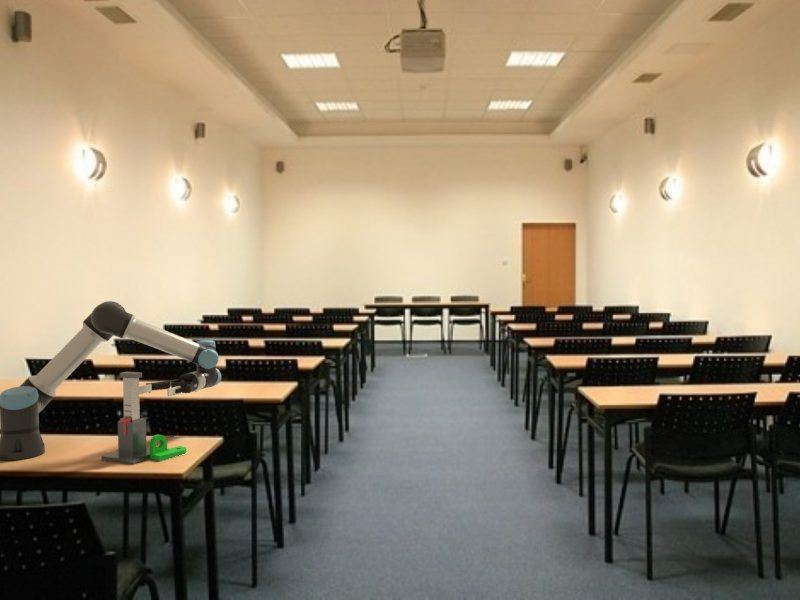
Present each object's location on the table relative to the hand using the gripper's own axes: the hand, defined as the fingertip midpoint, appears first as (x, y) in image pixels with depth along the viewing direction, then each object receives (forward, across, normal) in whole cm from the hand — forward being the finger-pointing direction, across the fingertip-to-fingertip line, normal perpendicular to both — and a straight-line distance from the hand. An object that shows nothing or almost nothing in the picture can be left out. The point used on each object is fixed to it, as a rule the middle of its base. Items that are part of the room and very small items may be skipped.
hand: (152, 391), depth 229 cm
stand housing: (+10, 0, -21) cm, 24 cm away
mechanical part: (+5, -11, -22) cm, 25 cm away
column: (+10, 0, -19) cm, 22 cm away
